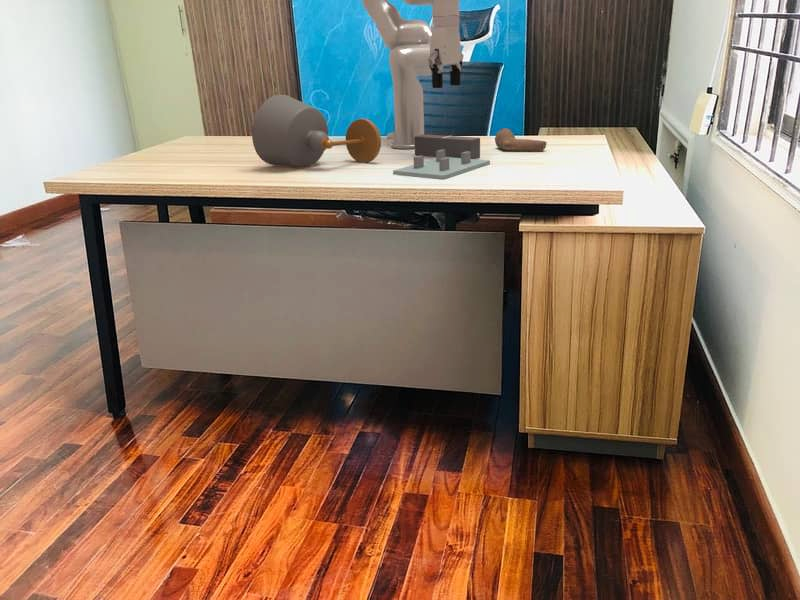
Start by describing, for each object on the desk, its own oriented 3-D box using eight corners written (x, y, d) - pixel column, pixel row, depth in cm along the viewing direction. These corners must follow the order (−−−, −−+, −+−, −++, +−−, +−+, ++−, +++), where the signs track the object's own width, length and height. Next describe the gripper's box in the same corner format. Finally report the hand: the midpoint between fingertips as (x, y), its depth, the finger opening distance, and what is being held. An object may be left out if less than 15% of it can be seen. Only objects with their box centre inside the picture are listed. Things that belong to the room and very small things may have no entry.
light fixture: (252, 94, 193) (322, 111, 178) (316, 93, 212) (384, 108, 198) (249, 167, 200) (316, 189, 186) (312, 160, 220) (377, 179, 205)
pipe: (545, 137, 208) (549, 127, 216) (490, 136, 213) (496, 127, 221) (545, 158, 212) (548, 147, 220) (490, 157, 216) (496, 146, 224)
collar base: (393, 174, 187) (392, 159, 185) (441, 160, 205) (441, 146, 203) (443, 179, 178) (443, 163, 176) (489, 164, 196) (490, 149, 194)
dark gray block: (415, 156, 214) (414, 136, 212) (424, 153, 218) (423, 134, 216) (471, 161, 203) (471, 139, 201) (480, 158, 206) (480, 137, 204)
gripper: (450, 23, 205) (451, 84, 212) (417, 24, 192) (419, 88, 199) (472, 22, 201) (472, 84, 207) (440, 23, 188) (441, 89, 194)
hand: (446, 86), depth 203 cm, fingers open, 9 cm apart
